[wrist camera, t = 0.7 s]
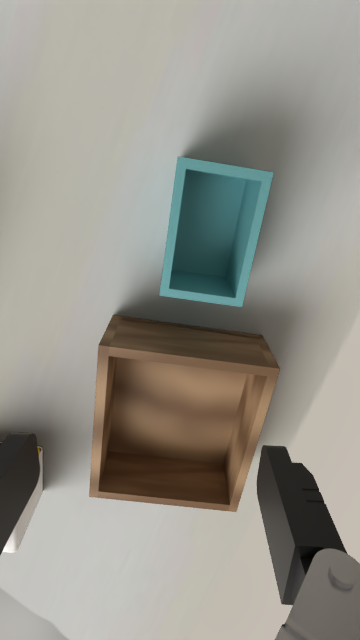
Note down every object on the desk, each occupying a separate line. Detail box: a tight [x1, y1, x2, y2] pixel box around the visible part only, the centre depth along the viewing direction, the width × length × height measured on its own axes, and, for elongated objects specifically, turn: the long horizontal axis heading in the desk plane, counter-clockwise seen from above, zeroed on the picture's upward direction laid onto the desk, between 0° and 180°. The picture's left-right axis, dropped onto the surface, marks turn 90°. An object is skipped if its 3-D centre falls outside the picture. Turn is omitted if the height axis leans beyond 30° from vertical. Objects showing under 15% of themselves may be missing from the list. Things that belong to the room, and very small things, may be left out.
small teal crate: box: [159, 157, 274, 307], centre depth 25 cm, size 9×6×6 cm, turn 172°
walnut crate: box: [89, 315, 280, 512], centre depth 31 cm, size 16×14×6 cm
